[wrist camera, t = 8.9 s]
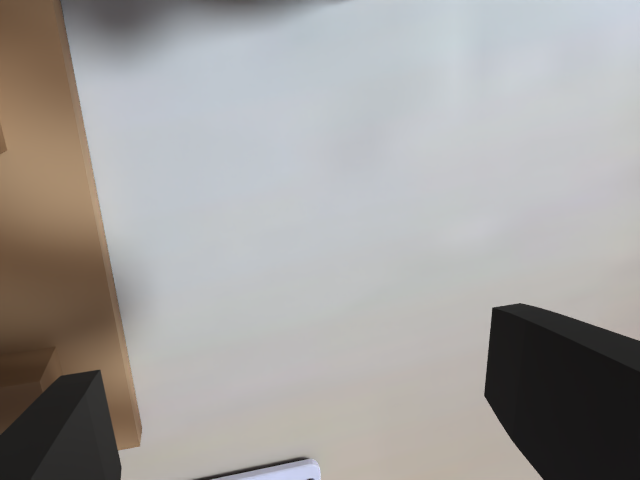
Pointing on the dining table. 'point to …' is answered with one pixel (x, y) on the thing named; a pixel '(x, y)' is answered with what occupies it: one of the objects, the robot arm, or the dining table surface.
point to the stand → (52, 229)
